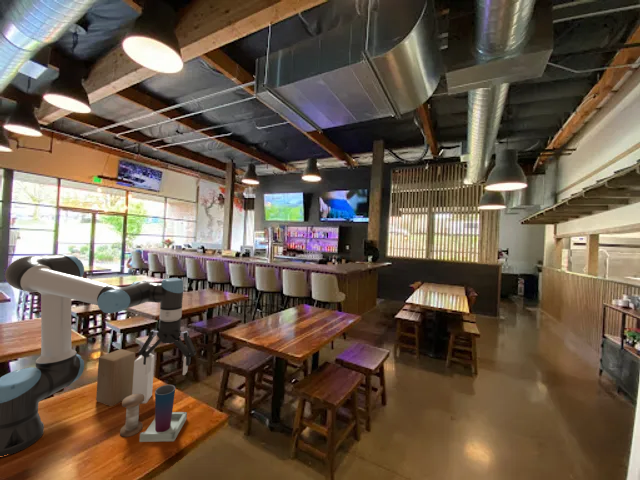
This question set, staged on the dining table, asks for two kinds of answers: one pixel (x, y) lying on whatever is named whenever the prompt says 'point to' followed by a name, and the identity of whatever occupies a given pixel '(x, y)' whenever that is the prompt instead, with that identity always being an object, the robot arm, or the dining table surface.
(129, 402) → the doorknob
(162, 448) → the dining table surface
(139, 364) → the milk
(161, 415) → the cup
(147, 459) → the dining table surface
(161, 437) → the square tray
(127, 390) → the wooden block
